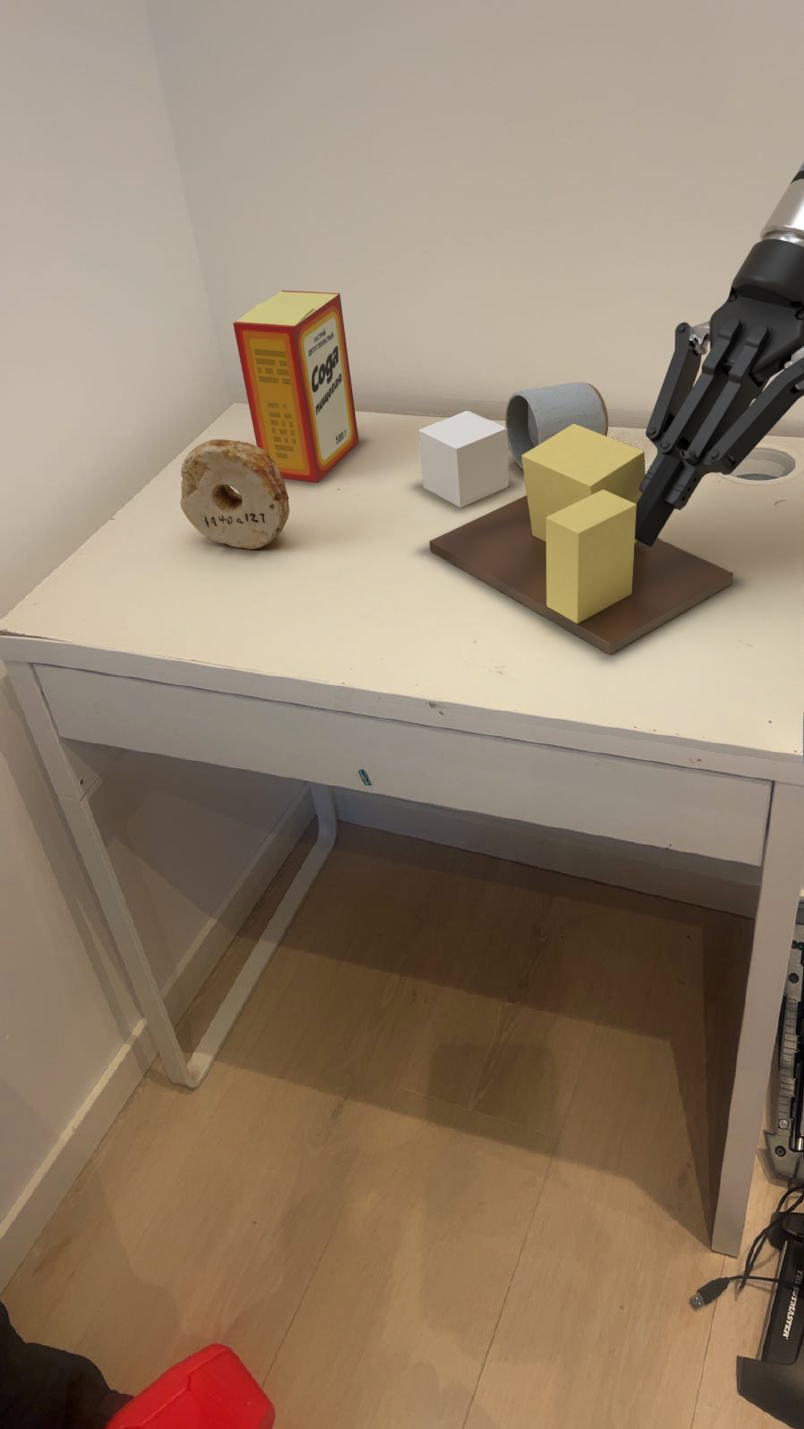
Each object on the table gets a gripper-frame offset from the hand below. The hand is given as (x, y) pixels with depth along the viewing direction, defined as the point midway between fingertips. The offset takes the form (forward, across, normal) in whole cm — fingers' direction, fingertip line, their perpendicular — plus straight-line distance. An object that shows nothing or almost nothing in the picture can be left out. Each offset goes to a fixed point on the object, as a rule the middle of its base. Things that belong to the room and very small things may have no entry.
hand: (636, 537), depth 82 cm
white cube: (+2, +24, -5) cm, 24 cm away
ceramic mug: (-5, +23, -12) cm, 26 cm away
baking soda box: (+7, +41, 0) cm, 41 cm away
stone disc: (+17, +31, +10) cm, 37 cm away
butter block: (+1, +7, -4) cm, 8 cm away
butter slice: (+6, 0, +1) cm, 6 cm away
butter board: (+4, +6, -2) cm, 7 cm away
